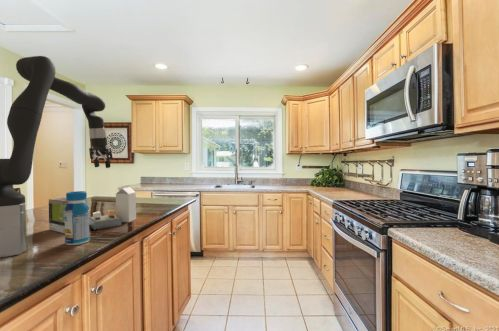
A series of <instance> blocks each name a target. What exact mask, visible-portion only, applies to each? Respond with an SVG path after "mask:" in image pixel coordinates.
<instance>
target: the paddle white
mask: <svg viewBox="0 0 499 331" xmlns="http://www.w3.org/2000/svg"><path fill="white" fill-rule="evenodd" d="M100 216H103V215H102V212H101V211H98V210H97V211H95V212H92V217H94V218H96V217H100Z"/></svg>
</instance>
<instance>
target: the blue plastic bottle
mask: <svg viewBox="0 0 499 331" xmlns="http://www.w3.org/2000/svg"><path fill="white" fill-rule="evenodd" d="M87 196H88V195H87V191H85V190H84V191H83V190H82V191H79V190H78V191H69V192H66V194H65V197H66V200H67V201H68V204H67V205H66V207H65V209H64V212H65V215H64V220H65V233H64V244H65V245H66V246H78V245H83V244H86V243H88V242H89V241H90V226H89V218H90V217H91V216H90V212H89V209H90V207H89V204H88V203H87V201H86V202H85V200H87Z"/></svg>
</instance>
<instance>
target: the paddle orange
mask: <svg viewBox="0 0 499 331" xmlns="http://www.w3.org/2000/svg"><path fill="white" fill-rule="evenodd" d="M106 212H107V213H106V215H116V210H114V209H111V210H110V209H107V211H106Z"/></svg>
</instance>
